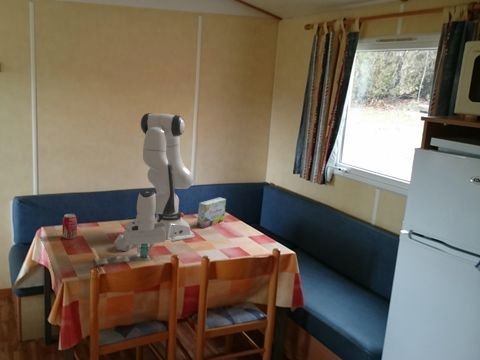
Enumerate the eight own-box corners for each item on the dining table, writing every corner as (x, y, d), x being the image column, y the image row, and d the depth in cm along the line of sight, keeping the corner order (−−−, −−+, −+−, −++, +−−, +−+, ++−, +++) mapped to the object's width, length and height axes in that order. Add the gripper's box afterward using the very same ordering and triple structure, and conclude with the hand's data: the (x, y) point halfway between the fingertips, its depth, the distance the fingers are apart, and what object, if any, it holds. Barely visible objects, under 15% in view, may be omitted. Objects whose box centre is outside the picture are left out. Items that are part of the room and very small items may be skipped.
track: (147, 255, 232) (147, 253, 231) (151, 261, 226) (152, 259, 225) (93, 261, 220) (93, 258, 219) (96, 267, 214) (96, 264, 213)
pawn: (148, 255, 229) (148, 240, 227) (147, 258, 225) (148, 243, 224) (140, 255, 228) (141, 240, 227) (139, 258, 225) (140, 242, 223)
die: (122, 257, 229) (135, 240, 230) (108, 246, 230) (121, 229, 231) (126, 256, 237) (138, 240, 239) (112, 246, 238) (125, 230, 239)
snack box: (203, 229, 279) (205, 204, 275) (196, 226, 282) (198, 202, 278) (224, 221, 296) (226, 198, 293) (217, 219, 299) (219, 196, 296)
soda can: (64, 234, 249) (64, 212, 246) (78, 235, 249) (78, 213, 247) (60, 239, 242) (61, 217, 239) (74, 240, 243) (75, 217, 240)
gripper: (164, 220, 231) (162, 247, 234) (122, 223, 221) (121, 251, 224) (168, 225, 225) (166, 252, 228) (125, 227, 216) (124, 256, 219)
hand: (144, 251), depth 226 cm, fingers closed on pawn, 4 cm apart
